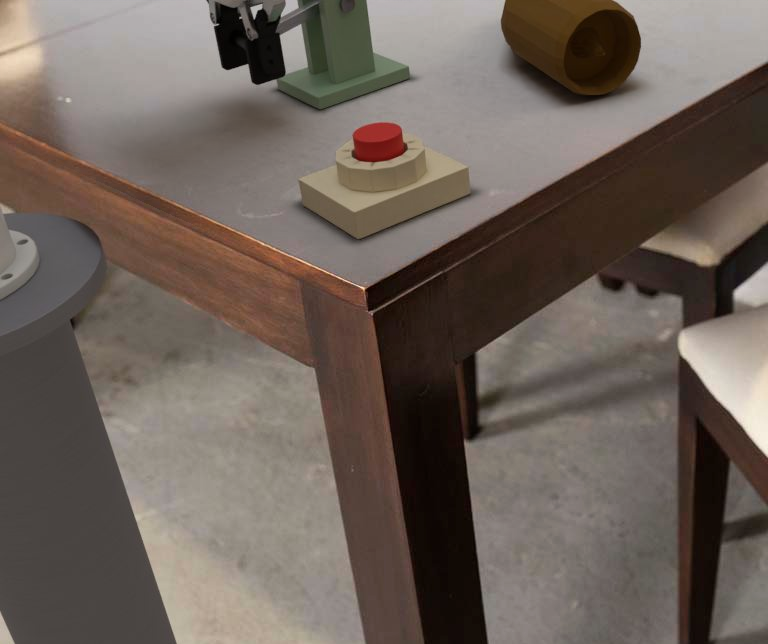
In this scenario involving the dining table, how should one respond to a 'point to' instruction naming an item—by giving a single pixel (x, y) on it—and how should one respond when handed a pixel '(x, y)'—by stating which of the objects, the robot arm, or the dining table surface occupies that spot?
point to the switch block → (383, 187)
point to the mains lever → (282, 22)
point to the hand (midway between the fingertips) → (253, 70)
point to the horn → (574, 41)
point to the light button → (378, 142)
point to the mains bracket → (340, 57)
